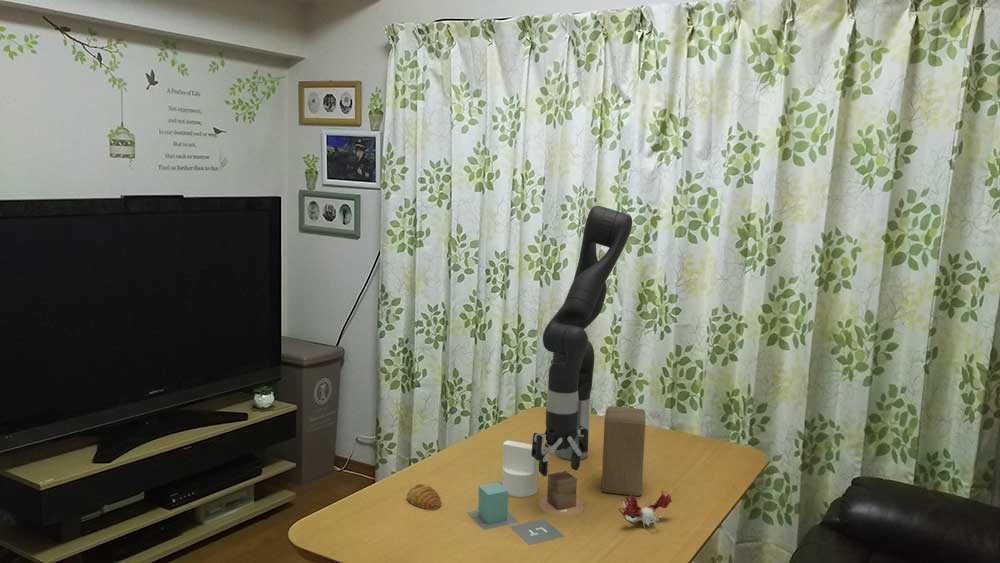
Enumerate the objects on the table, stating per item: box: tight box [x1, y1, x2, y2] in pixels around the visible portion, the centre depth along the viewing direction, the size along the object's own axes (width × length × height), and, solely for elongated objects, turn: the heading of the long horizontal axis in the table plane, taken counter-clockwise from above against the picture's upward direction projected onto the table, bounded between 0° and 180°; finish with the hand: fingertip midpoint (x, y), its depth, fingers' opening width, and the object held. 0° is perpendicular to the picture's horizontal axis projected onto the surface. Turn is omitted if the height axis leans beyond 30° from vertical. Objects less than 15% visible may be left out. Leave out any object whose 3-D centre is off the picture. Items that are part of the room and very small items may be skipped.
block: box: [600, 405, 646, 497], centre depth 183 cm, size 10×10×20 cm
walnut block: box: [546, 470, 578, 510], centre depth 172 cm, size 5×5×7 cm
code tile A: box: [509, 518, 565, 546], centre depth 159 cm, size 9×9×1 cm
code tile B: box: [467, 510, 520, 531], centre depth 166 cm, size 9×9×1 cm
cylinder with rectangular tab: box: [501, 440, 539, 498], centre depth 180 cm, size 9×9×12 cm
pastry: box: [406, 483, 442, 511], centre depth 172 cm, size 9×7×4 cm
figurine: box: [617, 490, 673, 530], centre depth 166 cm, size 15×12×7 cm
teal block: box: [477, 482, 509, 524], centre depth 165 cm, size 5×5×7 cm
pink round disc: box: [538, 495, 585, 516], centre depth 173 cm, size 11×11×1 cm
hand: (559, 472), depth 172 cm, fingers open, 8 cm apart
